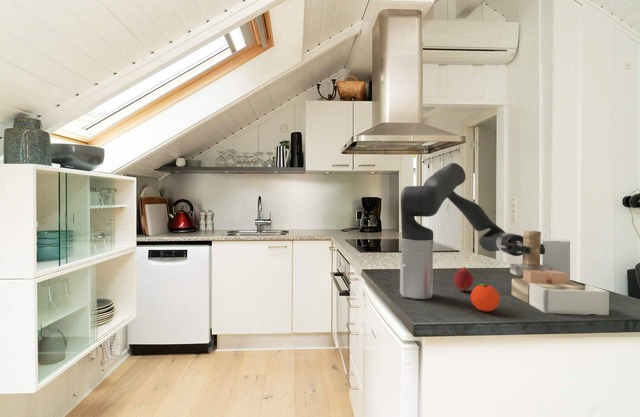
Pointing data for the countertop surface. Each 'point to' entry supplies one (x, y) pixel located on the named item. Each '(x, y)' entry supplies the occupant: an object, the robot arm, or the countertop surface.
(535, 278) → the tile left
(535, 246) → the scraper
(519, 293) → the tan wooden block
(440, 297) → the countertop surface
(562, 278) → the tile right
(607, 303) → the box
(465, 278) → the onion
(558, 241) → the skincare box
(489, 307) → the clementine
